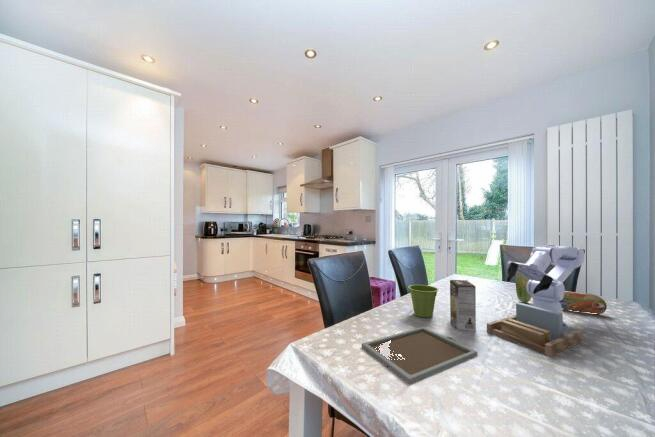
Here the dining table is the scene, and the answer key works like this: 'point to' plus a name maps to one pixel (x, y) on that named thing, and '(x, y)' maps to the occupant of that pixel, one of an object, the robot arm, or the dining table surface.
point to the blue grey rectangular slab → (541, 319)
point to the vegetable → (522, 287)
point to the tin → (583, 302)
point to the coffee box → (463, 304)
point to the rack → (549, 347)
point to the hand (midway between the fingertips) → (521, 285)
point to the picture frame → (420, 353)
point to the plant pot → (423, 299)
